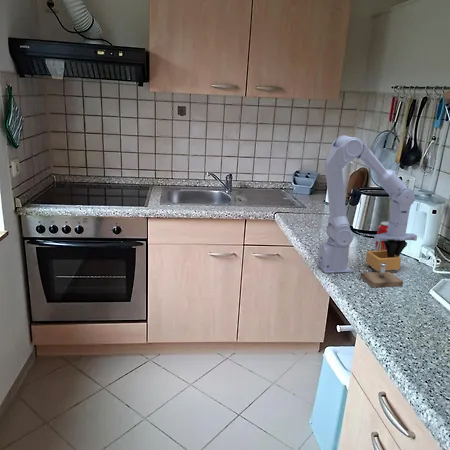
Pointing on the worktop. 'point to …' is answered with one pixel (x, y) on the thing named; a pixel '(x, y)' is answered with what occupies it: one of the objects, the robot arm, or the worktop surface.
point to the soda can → (381, 229)
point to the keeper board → (381, 278)
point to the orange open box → (382, 260)
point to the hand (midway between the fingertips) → (392, 260)
